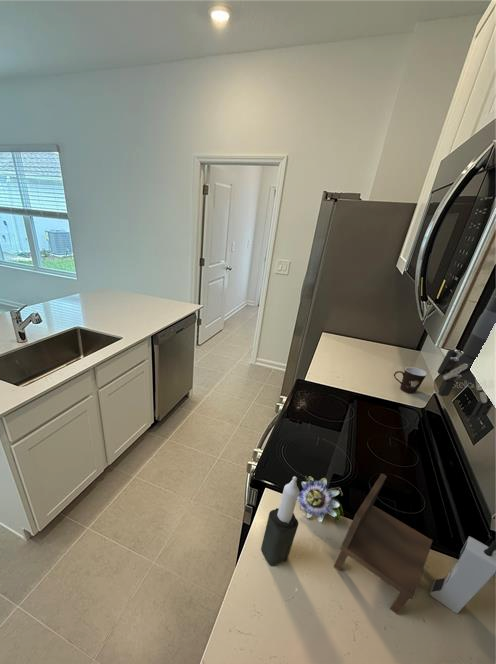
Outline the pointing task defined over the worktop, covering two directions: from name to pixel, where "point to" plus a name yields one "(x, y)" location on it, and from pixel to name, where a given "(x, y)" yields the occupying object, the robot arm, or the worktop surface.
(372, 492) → the shelf
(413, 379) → the coffee mug
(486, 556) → the vintage mobile phone
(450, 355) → the robot arm
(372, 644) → the worktop surface
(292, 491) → the candle
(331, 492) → the passion flower
